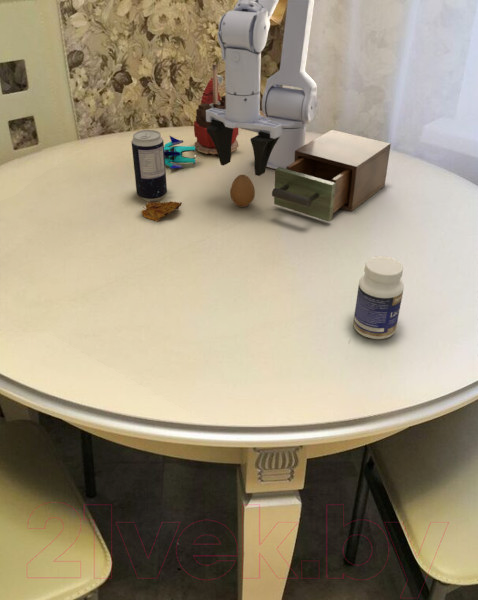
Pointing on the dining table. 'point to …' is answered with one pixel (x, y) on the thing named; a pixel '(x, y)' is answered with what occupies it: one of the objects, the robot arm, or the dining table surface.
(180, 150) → the figurine
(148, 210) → the leaf
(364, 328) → the pill bottle
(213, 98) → the cake
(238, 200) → the egg
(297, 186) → the drawer
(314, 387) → the dining table surface
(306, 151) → the cabinet
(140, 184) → the beverage can
